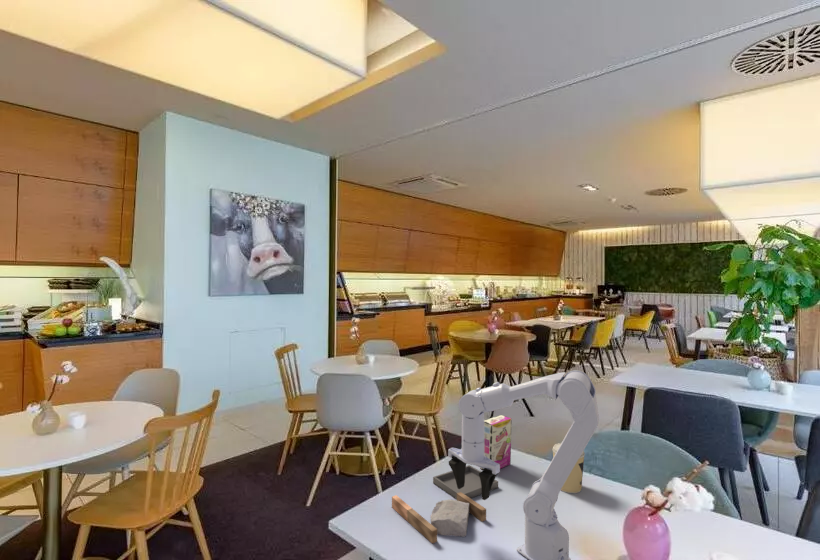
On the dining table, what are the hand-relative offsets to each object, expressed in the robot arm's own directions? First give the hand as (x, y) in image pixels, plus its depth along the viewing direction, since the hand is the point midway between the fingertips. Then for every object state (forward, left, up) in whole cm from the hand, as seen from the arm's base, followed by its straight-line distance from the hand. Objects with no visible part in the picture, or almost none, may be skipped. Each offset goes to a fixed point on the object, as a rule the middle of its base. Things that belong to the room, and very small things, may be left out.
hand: (472, 492), depth 105 cm
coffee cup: (+1, -41, -11) cm, 42 cm away
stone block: (+7, +2, -11) cm, 13 cm away
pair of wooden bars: (+12, +2, -10) cm, 16 cm away
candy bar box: (+23, -32, -11) cm, 41 cm away
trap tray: (+19, -14, -10) cm, 26 cm away
